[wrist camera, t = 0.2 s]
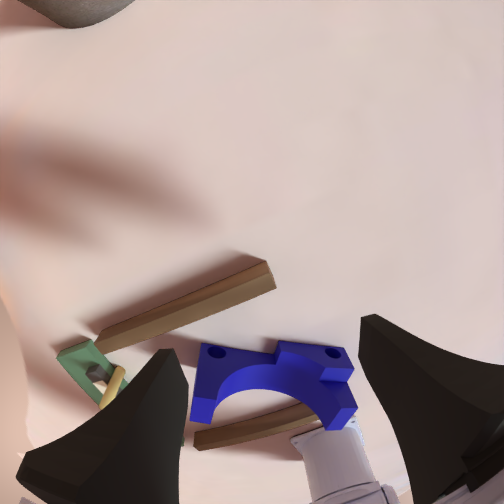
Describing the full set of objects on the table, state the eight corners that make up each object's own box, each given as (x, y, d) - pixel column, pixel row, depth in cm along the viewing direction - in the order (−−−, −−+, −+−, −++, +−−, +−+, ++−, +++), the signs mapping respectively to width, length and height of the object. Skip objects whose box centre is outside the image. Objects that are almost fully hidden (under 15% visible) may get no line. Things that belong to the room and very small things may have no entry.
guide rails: (329, 399, 25) (334, 413, 23) (200, 437, 26) (199, 451, 24) (266, 260, 19) (269, 272, 17) (102, 330, 21) (93, 343, 19)
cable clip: (343, 346, 22) (367, 394, 17) (324, 382, 24) (341, 430, 18) (204, 326, 21) (196, 381, 15) (197, 367, 22) (189, 420, 17)
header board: (191, 437, 26) (188, 472, 21) (151, 442, 26) (145, 474, 22) (98, 336, 21) (75, 373, 16) (61, 350, 21) (38, 382, 17)
